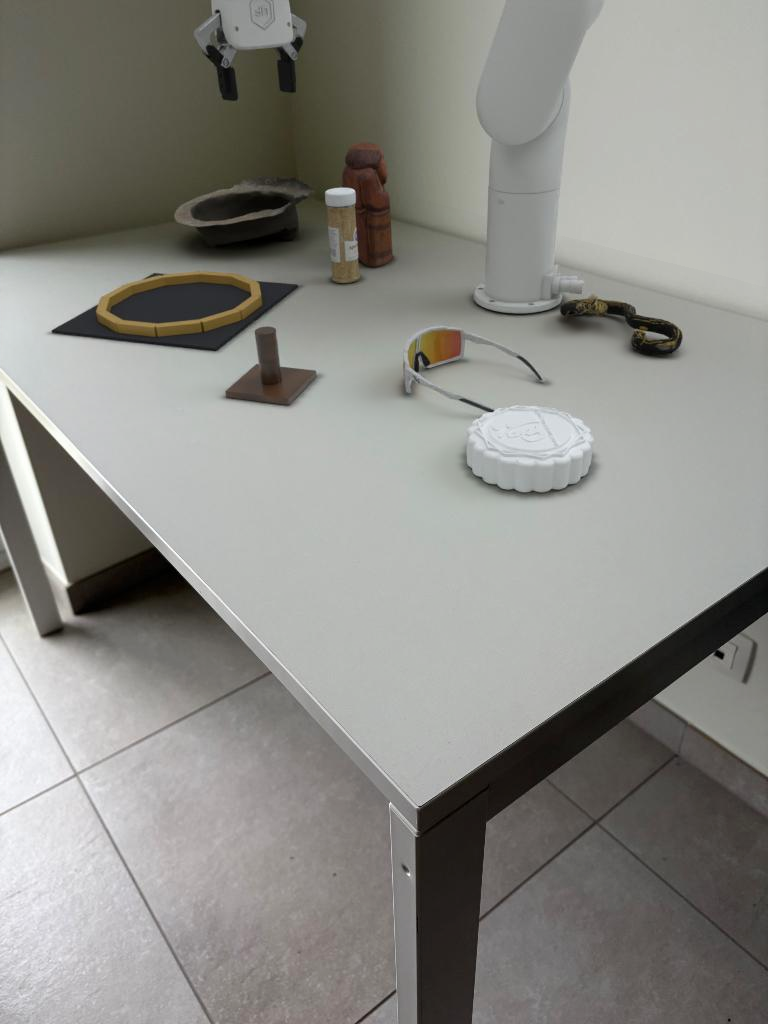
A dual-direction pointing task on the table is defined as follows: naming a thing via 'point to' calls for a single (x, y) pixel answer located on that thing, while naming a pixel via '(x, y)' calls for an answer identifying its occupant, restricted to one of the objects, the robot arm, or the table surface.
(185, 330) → the ring
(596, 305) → the rubber snake
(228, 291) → the mat
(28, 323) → the table surface
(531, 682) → the table surface
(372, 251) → the wooden figurine
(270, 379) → the wooden peg stand
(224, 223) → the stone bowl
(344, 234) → the sprinkles bottle
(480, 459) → the mooncake
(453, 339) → the sunglasses
